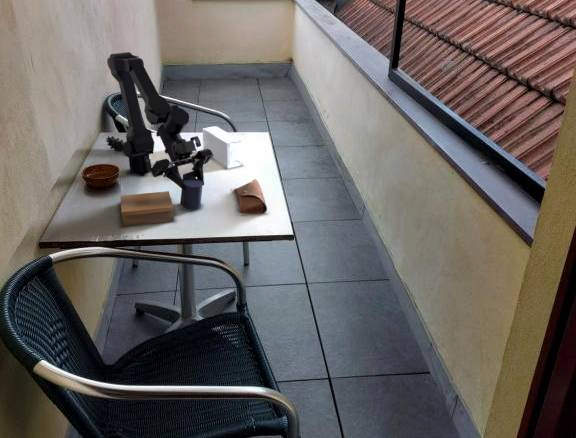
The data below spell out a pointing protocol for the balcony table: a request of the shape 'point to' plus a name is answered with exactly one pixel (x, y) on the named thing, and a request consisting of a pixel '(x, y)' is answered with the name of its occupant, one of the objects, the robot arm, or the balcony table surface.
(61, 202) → the balcony table surface
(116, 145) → the pine cone
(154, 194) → the wooden block base
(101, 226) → the balcony table surface
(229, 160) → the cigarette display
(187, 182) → the speaker
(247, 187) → the sunglasses case
